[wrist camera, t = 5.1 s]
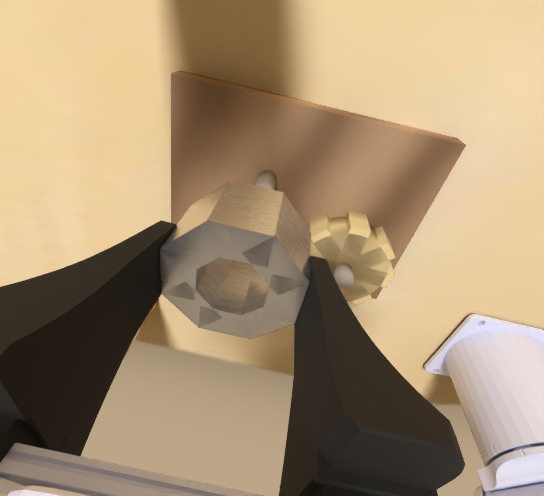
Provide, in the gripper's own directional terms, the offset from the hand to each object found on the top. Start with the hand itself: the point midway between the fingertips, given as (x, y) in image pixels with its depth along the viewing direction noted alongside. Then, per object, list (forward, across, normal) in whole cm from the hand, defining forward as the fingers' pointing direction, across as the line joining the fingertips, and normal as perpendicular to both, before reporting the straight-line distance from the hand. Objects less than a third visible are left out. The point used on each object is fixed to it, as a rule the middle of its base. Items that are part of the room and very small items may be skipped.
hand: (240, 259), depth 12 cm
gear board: (+9, -2, +2) cm, 10 cm away
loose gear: (+2, 0, 0) cm, 2 cm away
